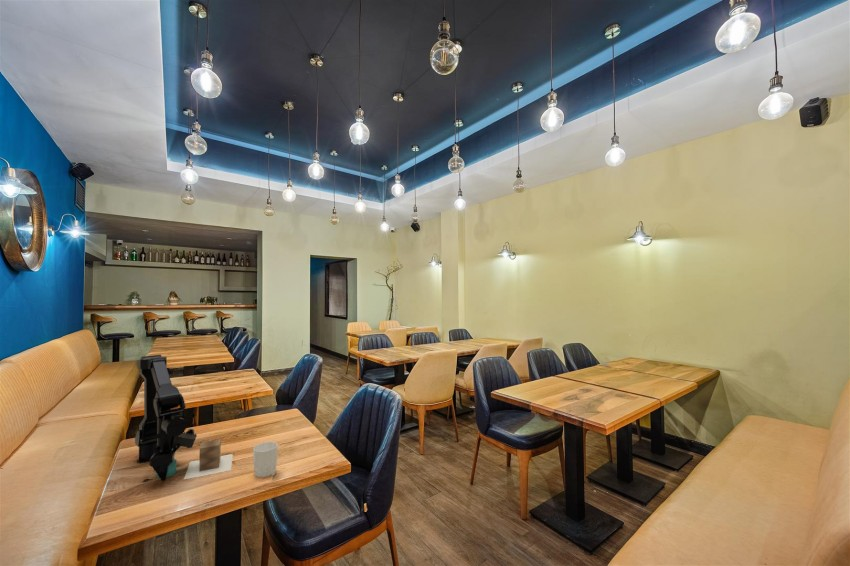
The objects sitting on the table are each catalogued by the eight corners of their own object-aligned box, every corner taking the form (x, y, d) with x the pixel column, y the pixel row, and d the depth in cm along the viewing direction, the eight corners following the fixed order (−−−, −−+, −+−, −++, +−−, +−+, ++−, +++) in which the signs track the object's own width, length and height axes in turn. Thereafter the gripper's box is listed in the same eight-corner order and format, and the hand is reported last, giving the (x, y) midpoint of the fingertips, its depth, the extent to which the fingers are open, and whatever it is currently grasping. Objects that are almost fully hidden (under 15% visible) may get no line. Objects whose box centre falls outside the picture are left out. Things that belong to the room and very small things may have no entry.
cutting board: (183, 482, 117) (183, 479, 117) (190, 464, 130) (190, 461, 130) (230, 472, 124) (230, 470, 124) (232, 456, 136) (233, 453, 136)
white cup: (270, 467, 128) (271, 439, 128) (281, 474, 123) (281, 445, 123) (248, 475, 122) (249, 447, 122) (259, 483, 117) (259, 453, 117)
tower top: (199, 459, 123) (199, 448, 123) (201, 452, 128) (202, 442, 128) (219, 456, 126) (219, 445, 126) (220, 449, 131) (220, 439, 131)
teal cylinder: (154, 482, 117) (155, 467, 117) (158, 475, 122) (159, 460, 122) (174, 479, 120) (174, 464, 120) (177, 471, 125) (177, 457, 125)
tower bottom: (199, 471, 123) (199, 459, 123) (201, 463, 128) (201, 452, 128) (218, 467, 125) (219, 456, 126) (220, 460, 131) (220, 449, 131)
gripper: (190, 434, 117) (189, 481, 116) (198, 416, 133) (197, 457, 133) (149, 440, 112) (148, 489, 111) (163, 421, 128) (162, 464, 128)
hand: (166, 473), depth 121 cm, fingers open, 9 cm apart
